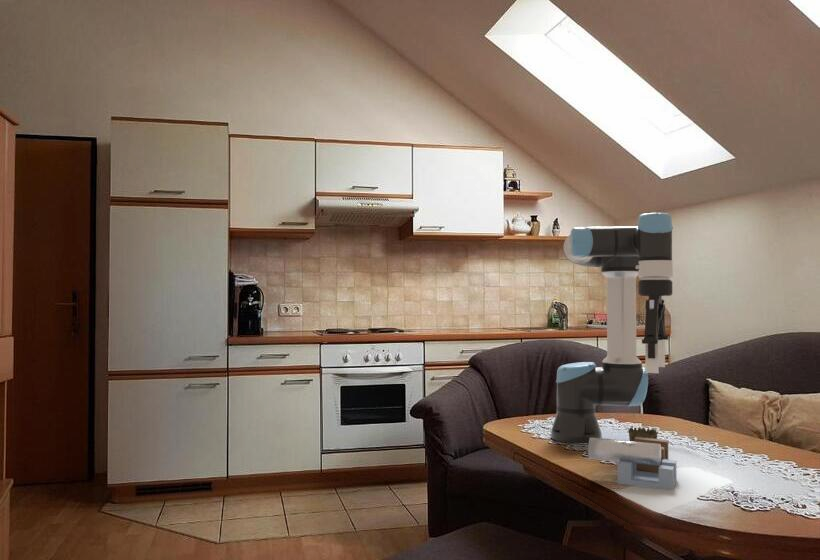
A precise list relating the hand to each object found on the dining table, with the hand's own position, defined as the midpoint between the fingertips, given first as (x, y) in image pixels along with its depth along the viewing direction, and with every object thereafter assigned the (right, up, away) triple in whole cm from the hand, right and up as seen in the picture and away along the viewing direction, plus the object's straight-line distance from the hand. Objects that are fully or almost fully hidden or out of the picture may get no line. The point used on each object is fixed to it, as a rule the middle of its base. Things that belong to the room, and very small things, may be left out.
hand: (655, 369), depth 154 cm
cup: (+5, -27, +22) cm, 36 cm away
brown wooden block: (+3, -27, +11) cm, 29 cm away
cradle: (-2, -27, 0) cm, 27 cm away
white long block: (-6, -20, +3) cm, 21 cm away
